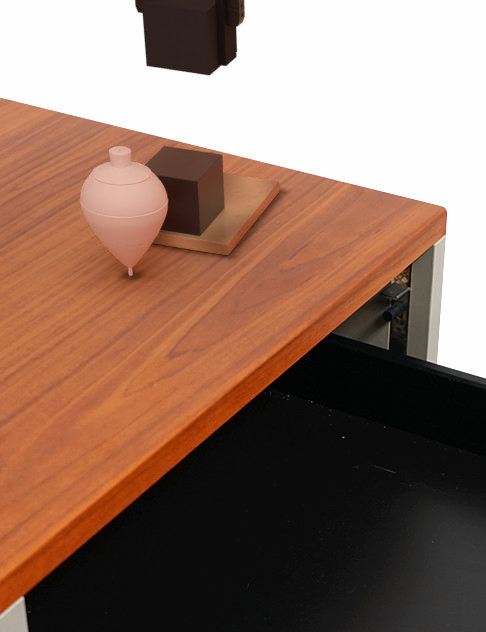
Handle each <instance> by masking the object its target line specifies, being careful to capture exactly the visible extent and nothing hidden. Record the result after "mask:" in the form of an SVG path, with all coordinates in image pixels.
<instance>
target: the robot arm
mask: <svg viewBox="0 0 486 632" xmlns="http://www.w3.org/2000/svg"><path fill="white" fill-rule="evenodd" d="M143 1H144V0H134V6H135V9H136V11H137V13H139V14H142V2H143ZM215 4H216V16H217V39H218V62H219V65H221V66H220V67H227V66H228V65H229V64H231V63H232V62H233V61H235V59H236V58H237V57H238V56H237V55H238V52H236V31H237V28H238V27H239V26H240V25H242V24H243V23H244V20H245V17H246V9H245V8H246V7H245V0H215Z"/></svg>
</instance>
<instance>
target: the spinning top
mask: <svg viewBox="0 0 486 632" xmlns="http://www.w3.org/2000/svg"><path fill="white" fill-rule="evenodd" d="M108 155H109V161H107V162H104V163H101V164H99V165H96V167H94V168H93V169H92V170H91V173H90V174H89V175H88V176H87V177H86V179H85V180H84V182H83V184H82V187H81V190H80V192H79V193H80V194H79V204H80V208H81V213H82V215H83V218H84V219H85V221H86V223H87V224H88V226H89V227H90V229H91V230H92V233H93V234H94V235H95V237H96V238H97V239H98V240H99V241H100V242H101V244H102V245H104V247H105V248H106V249H107V250H108V252H110V254H112V255H113V257H115V259H116V260H118V261H119V263H121V264H122V265H124V266H125V267H126V268H127V271H128V273H127V274H128V276H129V277H132V276H133V275H134V274H133V273H134V272H133V267H135V266H136V265H137V264H138V263H139V262H140V260H141V259H142V258H143V257H144V256H145V254H146V253H147V251H148V250H149V249H150V247H151V245H153V243H152V242H153V241H154V239H155V238H156V236H157V235H158V233H159V231H160V229H161V227H162V224H163V222H164V220H165V217H166V214H167V209H168V198H167V193H166V190H165V188H164V186H163V184H162V183H161V181H160V180H159V179H158V177H157V176H156V175H155V174H154V173H153V172H152V171H151V170H150V169H149V168H148V167H147V166H145V164H143V163H141V162H136V161H133V160H132V150H131V148H130V147H126V146H123V145H118V146H117V145H116V146H113V147H110V148H109V150H108Z"/></svg>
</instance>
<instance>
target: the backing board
mask: <svg viewBox="0 0 486 632" xmlns="http://www.w3.org/2000/svg"><path fill="white" fill-rule="evenodd" d="M144 165H145V166H147V167H148V168H149V169H150V170H151V171H152V172H153V173H154V174H155V175H156V176H157V177H158V179H159V180H160V181H161V183H162V184H163V186H164V188H165V190H166V193H167V198H168V209H167V214H166V217H165V220H164V222H163V224H162V227H161V229H160V231H159V233H158V235H157V236H156V238H155V239H154V241H153V242H152V245H153V244H154V245H160V246H165V247H166V246H167V247H171V248H178V249H179V248H180V249H185V250H191V251H196V252H197V251H198V252H204V253H209V254H217V255H223V256H229V255H230V254H231V253H232V251H234V249H235V247H236V246H238V244H239V243H240V242H241V240H242V239H243V238H244V236H245V235H246V234H247V233H248V232H249V231H250V229H251V228H252V227H253V225H254V224H255V223H256V221H258V219H259V218H260V217H261V215H262V214H263V213H264V212H265V211H266V210H267V208H268V206H269V205H271V203H272V202H273V200H274V199H275V198H276V197H277V196H278V194H280V181H279V180H273V179H266V178H261V177H260V178H259V177H253V176H246V175H242V174H241V175H240V174H233V173H226V172H224V159H223V154H222V153H214V152H209V151H201V150H195V149H189V148H183V147H182V148H181V147H176V146H168V145H163V146H162V147H161V148H160V150H158V151H157V152H156V153H155V154H154V155H153V156H152V157H151V158H150V159H149V160H148V161H147V162H145V164H144Z"/></svg>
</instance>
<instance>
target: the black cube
mask: <svg viewBox="0 0 486 632" xmlns="http://www.w3.org/2000/svg"><path fill="white" fill-rule="evenodd" d="M141 14H142V26H143V37H144V51H145V52H144V53H145V66H146V67H150V68H157V69H163V70H170V71H176V72H183V73H189V74H195V75H196V74H197V75H202V76H209V77H210V76H211V75H212V74H213V73H214V72H217V70H218V69H219V68H220V67H222V66H221V65H219V62H218V39H217V16H216V4H215V0H144V1H143V2H142V13H141ZM237 32H238V31H237V30H236V53H238V34H237Z"/></svg>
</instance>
